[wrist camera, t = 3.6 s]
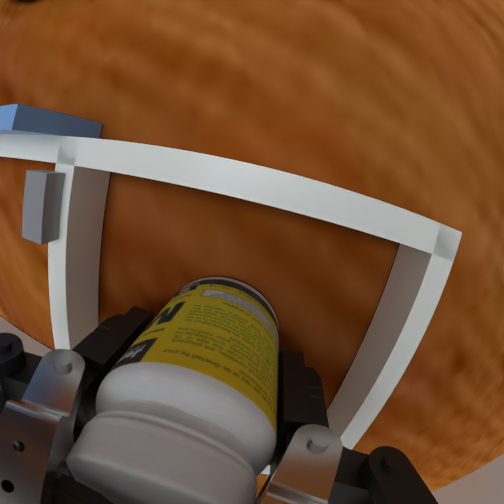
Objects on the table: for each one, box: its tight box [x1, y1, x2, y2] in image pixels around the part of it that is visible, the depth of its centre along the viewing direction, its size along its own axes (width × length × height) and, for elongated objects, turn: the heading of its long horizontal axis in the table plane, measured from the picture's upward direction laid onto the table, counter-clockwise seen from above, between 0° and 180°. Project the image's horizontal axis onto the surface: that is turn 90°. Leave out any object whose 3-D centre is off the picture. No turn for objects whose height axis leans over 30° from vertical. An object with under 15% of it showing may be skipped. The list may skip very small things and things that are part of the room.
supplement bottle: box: [66, 277, 279, 504], centre depth 7 cm, size 5×5×8 cm
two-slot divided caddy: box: [0, 104, 462, 474], centre depth 9 cm, size 27×14×5 cm, turn 76°
